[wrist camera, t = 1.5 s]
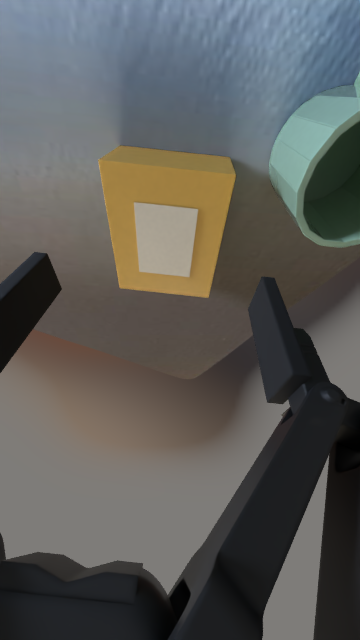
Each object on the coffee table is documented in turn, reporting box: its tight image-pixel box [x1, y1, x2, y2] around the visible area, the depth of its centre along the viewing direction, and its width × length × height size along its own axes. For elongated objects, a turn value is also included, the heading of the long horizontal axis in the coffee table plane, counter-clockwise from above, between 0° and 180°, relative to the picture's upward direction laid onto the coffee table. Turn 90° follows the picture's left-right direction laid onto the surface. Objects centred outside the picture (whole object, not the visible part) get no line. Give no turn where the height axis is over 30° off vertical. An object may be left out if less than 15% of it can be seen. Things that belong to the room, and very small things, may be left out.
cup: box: [269, 71, 360, 248], centre depth 12 cm, size 10×7×8 cm
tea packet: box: [98, 145, 236, 298], centre depth 18 cm, size 10×8×5 cm
